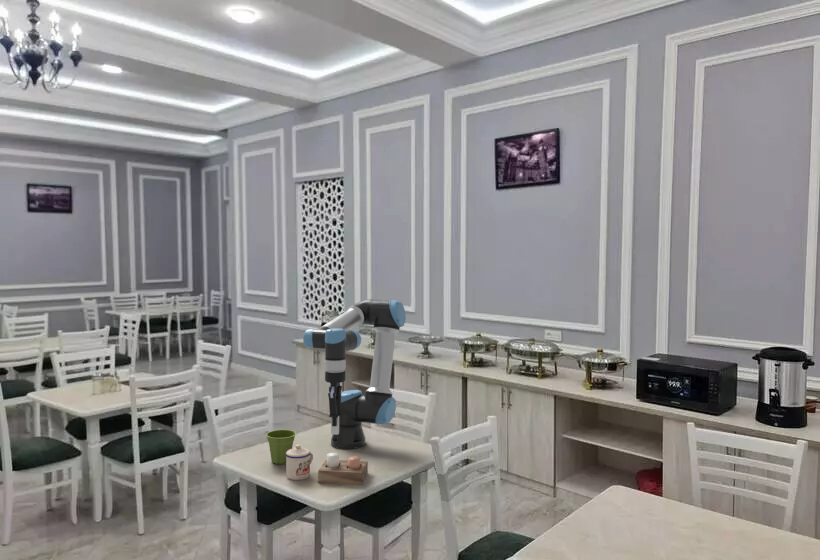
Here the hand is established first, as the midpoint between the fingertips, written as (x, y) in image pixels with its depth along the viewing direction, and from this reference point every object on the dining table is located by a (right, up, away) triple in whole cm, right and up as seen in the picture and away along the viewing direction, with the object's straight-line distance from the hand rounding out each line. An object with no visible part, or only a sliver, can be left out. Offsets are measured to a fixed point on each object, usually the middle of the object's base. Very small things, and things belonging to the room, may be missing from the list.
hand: (335, 433), depth 213 cm
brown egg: (+7, -15, 0) cm, 16 cm away
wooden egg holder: (+3, -16, 0) cm, 17 cm away
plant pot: (-24, -16, +17) cm, 33 cm away
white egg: (-1, -14, +1) cm, 14 cm away
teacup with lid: (-13, -16, +3) cm, 21 cm away
